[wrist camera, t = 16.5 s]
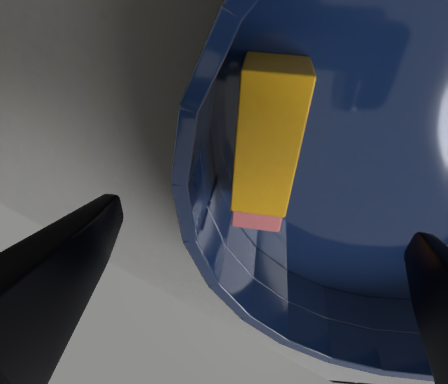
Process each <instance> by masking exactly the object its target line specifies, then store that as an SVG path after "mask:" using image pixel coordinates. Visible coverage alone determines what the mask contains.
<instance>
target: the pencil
mask: <svg viewBox="0 0 448 384" xmlns="http://www.w3.org/2000/svg"><path fill="white" fill-rule="evenodd" d="M315 83H316V74H315V71H314V67H313V64H312V61H311V57H309V56H297V55H285V54H273V53H261V52H247V54H246V56H245V59H244V62H243V65H242V68H241V72H240V85H239V98H238V111H237V125H236V138H235V151H234V164H233V178H232V191H231V204H230V210H231V211H232V222H231V225H232V226H234V227H242V228H249V229H257V230H264V231H272V232H279V231H280V227H281V222H282V217H283V218H284V217H285V216H286V212H287V207H288V203H289V199H290V194H291V190H292V185H293V181H294V176H295V172H296V167H297V163H298V158H299V154H300V150H301V145H302V141H303V136H304V132H305V127H306V123H307V118H308V114H309V109H310V105H311V101H312V96H313V92H314V87H315Z"/></svg>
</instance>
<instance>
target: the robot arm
mask: <svg viewBox="0 0 448 384" xmlns="http://www.w3.org/2000/svg"><path fill="white" fill-rule="evenodd" d="M122 222H123V211H122V206H121V201H120V198H119V196H118V195H114V194H104V195H102V196H100V197H98V198H97V199H95V200H93V201H91V202H89V203H88V204H86V205H84V206H82V207H81V208H79V209H77V210H75V211H73V212H72V213H70V214H68V215H66V216H64V217H63V218H61V219H59V220H57V221H56V222H54V223H52V224H50V225H48V226H47V227H45V228H43V229H41V230H40V231H38V232H36V233H34V234H32V235H31V236H29V237H27V238H25V239H23V240H22V241H20V242H18V243H16V244H14V245H13V246H11V247H9V248H7V249H6V250H4V251H2V252H0V384H48V382H49V380H50V378H51V376H52V374H53V372H54V370H55V368H56V366H57V364H58V362H59V360H60V358H61V356H62V354H63V352H64V350H65V348H66V346H67V344H68V342H69V340H70V338H71V336H72V334H73V332H74V330H75V328H76V326H77V324H78V322H79V320H80V317H81V316H82V314H83V312H84V310H85V308H86V305H87V304H88V302H89V299H90V297H91V295H92V293H93V291H94V289H95V287H96V285H97V283H98V281H99V279H100V277H101V275H102V273H103V271H104V269H105V267H106V265H107V263H108V260H109V258H110V255H111V253H112V250H113V247H114V244H115V241H116V239H117V236H118V233H119V230H120V227H121V225H122ZM404 261H405V267H406V273H407V279H408V285H409V291H410V297H411V302H412V306H413V310H414V314H415V317H416V321H417V324H418V327H419V331H420V334H421V338H422V341H423V344H424V348H425V351H426V354H427V358H428V361H429V365H430V368H431V371H432V375H433V378H434V382H435V384H448V245H447V244H446V243H444V242H443V241H442V240H441V239H439V238H438V237H437V236H436V235H434V234H432V233H426V232H417V233H415V234H414V236H413V237H412V239H411V241H410V243H409V244H408V246H407V248H406V250H405V252H404Z"/></svg>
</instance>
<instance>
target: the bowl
mask: <svg viewBox="0 0 448 384" xmlns="http://www.w3.org/2000/svg"><path fill="white" fill-rule="evenodd" d="M247 52H261V53H273V54H285V55H297V56H309V57H311V61H312V64H313V67H314V71H315V74H316V83H315V87H314V92H313V96H312V101H311V105H310V109H309V114H308V118H307V123H306V127H305V132H304V136H303V141H302V145H301V150H300V154H299V158H298V163H297V167H296V172H295V176H294V181H293V185H292V190H291V194H290V199H289V203H288V207H287V212H286V216H285V217H284V218H283V217H282V222H281V227H280V231H279V232H272V231H264V230H257V229H249V228H242V227H234V226H232V225H231V222H232V211H231V210H230V204H231V191H232V178H233V164H234V151H235V138H236V125H237V111H238V98H239V85H240V72H241V68H242V65H243V62H244V59H245V56H246V54H247ZM171 188H172V193H173V197H174V202H175V207H176V212H177V217H178V221H179V226H180V231H181V236H182V241H183V243H184V245H185V247H186V248H187V250H188V252H189V254H190V256H191V257H192V259H193V261H194V263H195V264H196V266H197V268H198V270H199V271H200V273H201V275H202V277H203V279H204V280H205V282H206V284H207V285H208V287H209V288H210V289H211V290H212V291H213V292H214V293H215V294H216V295H217V296H218V297H219V298H220V299H221V300H222V301H223V302H224V303H225V304H226V305H227V306H228V307H230V308H231V309H232V310H233V311H234V312H235V313H236V314H237V315H238V316H239V317H240V318H241V319H242V320H243V321H245V322H246V323H248V324H249V325H251V326H253V327H254V328H256V329H257V330H259V331H261V332H262V333H264V334H265V335H267V336H269V337H270V338H272V339H273V340H275V341H276V342H278V343H280V344H282V345H285V346H287V347H290V348H292V349H294V350H297V351H299V352H302V353H304V354H307V355H309V356H312V357H314V358H317V359H319V360H322V361H324V362H328V363H331V364H335V365H339V366H344V367H348V368H352V369H356V370H360V371H364V372H369V373H373V374H377V375H382V376H391V377H400V378H409V379H417V380H426V381H434V378H433V375H432V371H431V368H430V365H429V361H428V358H427V354H426V351H425V348H424V344H423V341H422V338H421V334H420V331H419V327H418V324H417V321H416V317H415V314H414V310H413V306H412V302H411V297H410V291H409V285H408V279H407V273H406V267H405V261H404V252H405V250H406V248H407V246H408V244H409V243H410V241H411V239H412V237H413V236H414V234H415V233H417V232H426V233H432V234H434V235H436V236H437V237H438V238H439V239H441V240H442V241H443V242H444V243H446V244H447V245H448V0H224V1H223V5H222V6H221V7H220V8H219V11H218V13H217V15H216V18H215V20H214V23H213V25H212V27H211V30H210V32H209V35H208V37H207V39H206V42H205V44H204V47H203V49H202V51H201V54H200V56H199V59H198V61H197V63H196V66H195V68H194V71H193V73H192V75H191V78H190V80H189V83H188V85H187V87H186V90H185V92H184V95H183V97H182V99H181V102H180V107H179V109H178V118H177V127H176V136H175V146H174V155H173V164H172V173H171Z"/></svg>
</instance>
